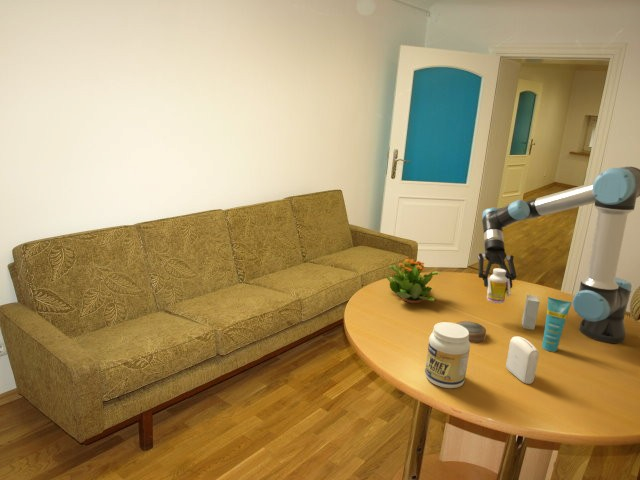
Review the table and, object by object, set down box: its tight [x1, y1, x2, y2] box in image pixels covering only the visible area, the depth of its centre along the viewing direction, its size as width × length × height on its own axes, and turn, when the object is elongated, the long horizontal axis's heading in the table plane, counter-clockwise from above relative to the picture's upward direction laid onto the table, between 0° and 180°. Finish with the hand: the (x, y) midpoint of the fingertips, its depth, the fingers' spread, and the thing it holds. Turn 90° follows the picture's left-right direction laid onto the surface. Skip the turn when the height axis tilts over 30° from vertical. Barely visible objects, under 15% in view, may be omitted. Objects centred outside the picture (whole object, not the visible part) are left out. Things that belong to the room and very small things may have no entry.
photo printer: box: [505, 335, 540, 385], centre depth 146 cm, size 10×4×12 cm, turn 15°
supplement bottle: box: [486, 267, 508, 304], centre depth 181 cm, size 7×7×13 cm
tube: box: [541, 296, 573, 353], centre depth 163 cm, size 7×5×19 cm, turn 60°
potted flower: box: [384, 258, 441, 304], centre depth 201 cm, size 25×24×18 cm
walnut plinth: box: [455, 320, 487, 343], centre depth 173 cm, size 11×11×3 cm
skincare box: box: [521, 294, 540, 331], centre depth 182 cm, size 6×4×12 cm
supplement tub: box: [424, 321, 471, 389], centre depth 142 cm, size 12×12×17 cm
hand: (499, 294), depth 178 cm, fingers closed on supplement bottle, 7 cm apart
